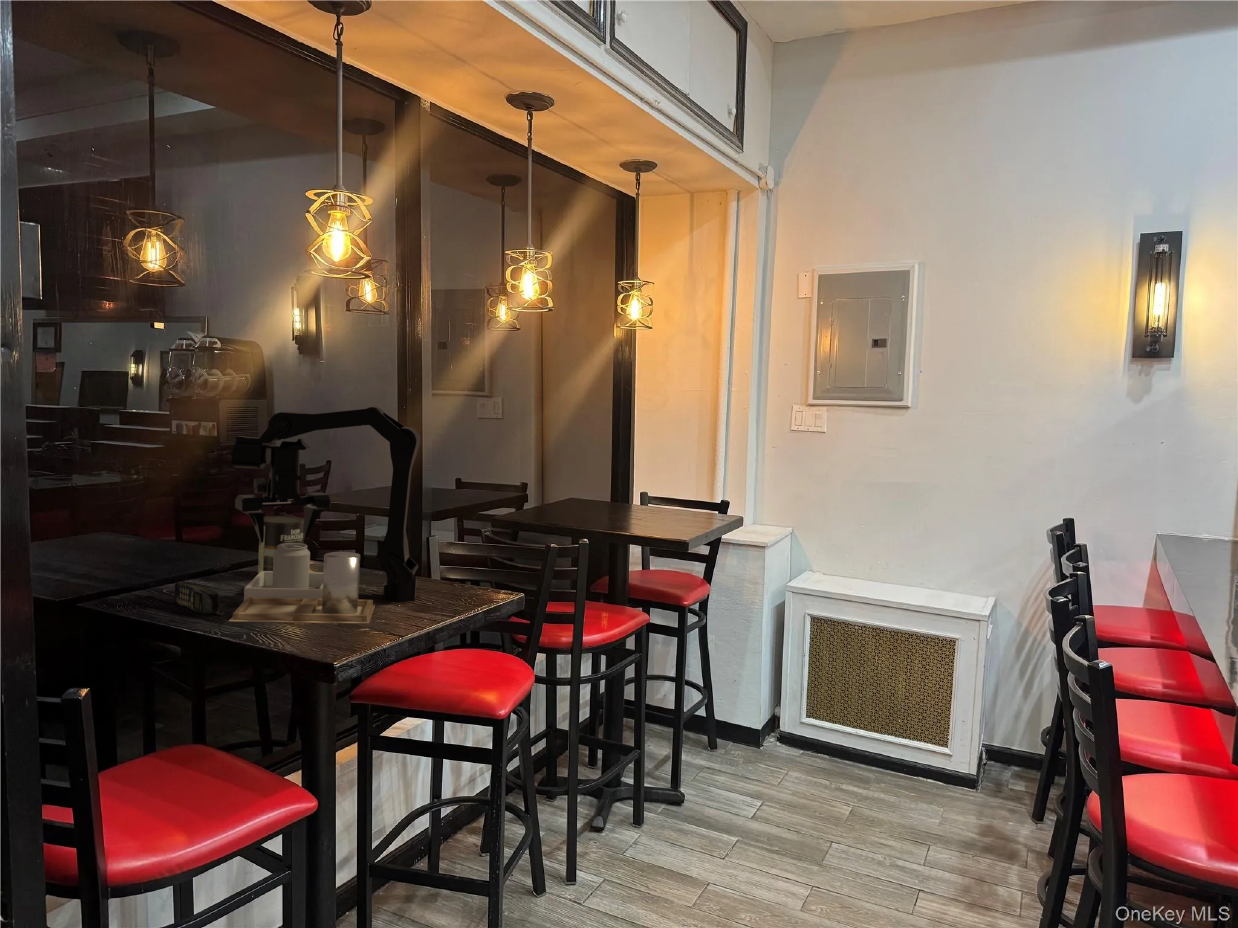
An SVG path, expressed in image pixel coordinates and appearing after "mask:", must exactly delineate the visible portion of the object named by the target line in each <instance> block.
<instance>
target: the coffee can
mask: <svg viewBox="0 0 1238 928" xmlns="http://www.w3.org/2000/svg"><path fill="white" fill-rule="evenodd" d="M303 527H304V517H300V516H289V515H269V516H264V540H263V543H261V542H260V541H258V558H257V559H258V561H257V562H258V563H257V575H258V574H259V573H260V572H261V571H273V556H274V552H275V551H276V550H277V549H278V547H277V546H278V545H279V544H284V543H301V544H305V543H304V541H305V539H303Z"/></svg>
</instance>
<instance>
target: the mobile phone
mask: <svg viewBox="0 0 1238 928" xmlns="http://www.w3.org/2000/svg"><path fill="white" fill-rule="evenodd" d="M174 603H175V604H177V605H180V606H181V607H185V608H187V609H190V610H192V611H195V612H197V613H199V614H203V615H204V614H205V615H207V614H208V615H210V614H213V615H217V616H221V617H223V616H224V615H225V612H223V611H220V596H219V593H218V591H215V590H213V589H211V588H209V587H206V586H202V585H199V584H196V583H193V582H188V581H181V582H175V584H174Z"/></svg>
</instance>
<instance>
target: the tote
mask: <svg viewBox="0 0 1238 928" xmlns="http://www.w3.org/2000/svg"><path fill="white" fill-rule="evenodd" d="M272 581H273V571H261V572H260V573H259V574H258V573H257V575H256V576H255V577H254V578H253V579H252V580H251V581H250V582H249V583H248V584H247V585H246V586H245V587H244V590H243V602H244V601H245V600H246V599H247V598H248V597H264V598H311V599H322V592H323V572H315V571H313V572H310V571H309V589H297V588H272Z"/></svg>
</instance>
